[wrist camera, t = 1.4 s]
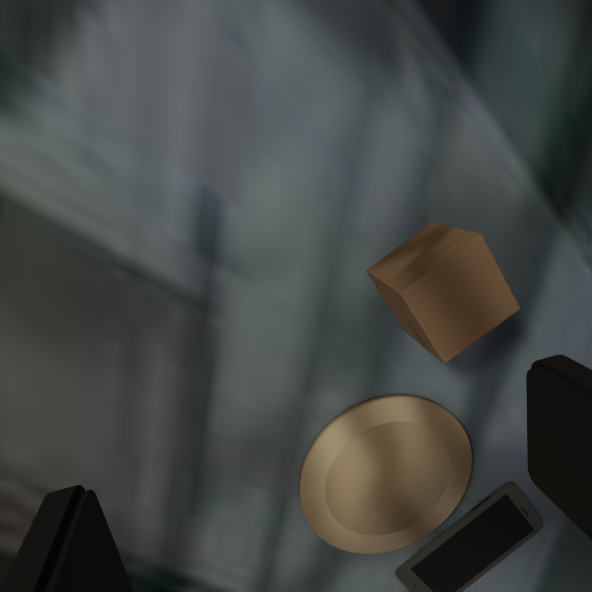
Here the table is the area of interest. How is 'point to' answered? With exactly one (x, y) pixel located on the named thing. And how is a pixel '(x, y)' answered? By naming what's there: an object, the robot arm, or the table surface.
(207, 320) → the table surface
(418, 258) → the walnut cube
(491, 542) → the cell phone
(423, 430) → the plate
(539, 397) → the robot arm
